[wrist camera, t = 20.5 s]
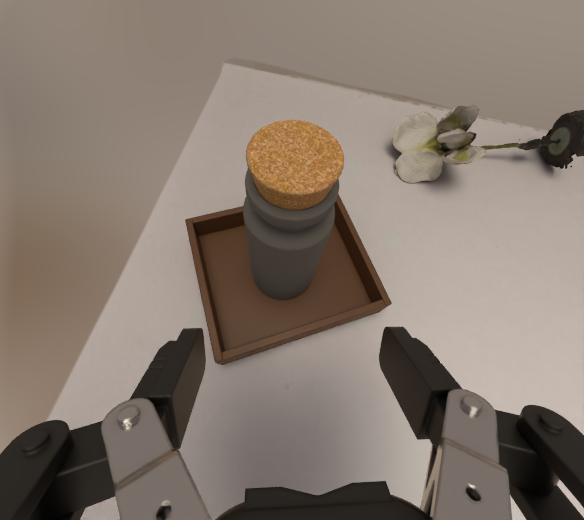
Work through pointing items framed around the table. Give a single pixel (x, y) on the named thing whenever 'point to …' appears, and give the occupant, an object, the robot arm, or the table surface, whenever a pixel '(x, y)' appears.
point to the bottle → (290, 203)
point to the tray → (268, 311)
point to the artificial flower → (456, 142)
